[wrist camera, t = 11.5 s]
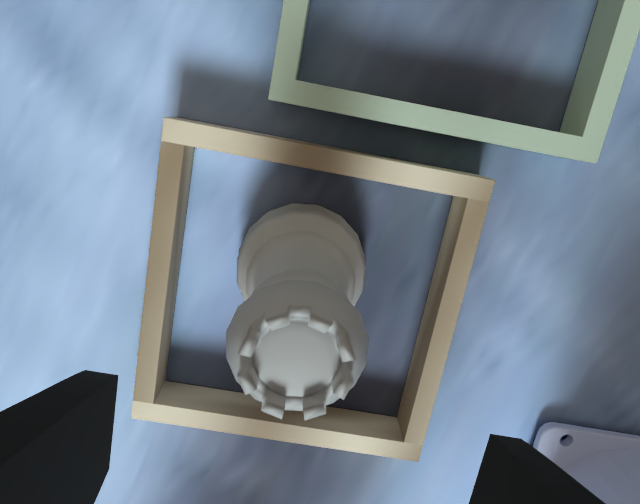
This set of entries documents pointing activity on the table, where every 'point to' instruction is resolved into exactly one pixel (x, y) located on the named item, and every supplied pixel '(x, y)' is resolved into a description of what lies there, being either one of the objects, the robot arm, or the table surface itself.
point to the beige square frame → (243, 410)
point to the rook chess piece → (298, 311)
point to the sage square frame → (571, 142)
